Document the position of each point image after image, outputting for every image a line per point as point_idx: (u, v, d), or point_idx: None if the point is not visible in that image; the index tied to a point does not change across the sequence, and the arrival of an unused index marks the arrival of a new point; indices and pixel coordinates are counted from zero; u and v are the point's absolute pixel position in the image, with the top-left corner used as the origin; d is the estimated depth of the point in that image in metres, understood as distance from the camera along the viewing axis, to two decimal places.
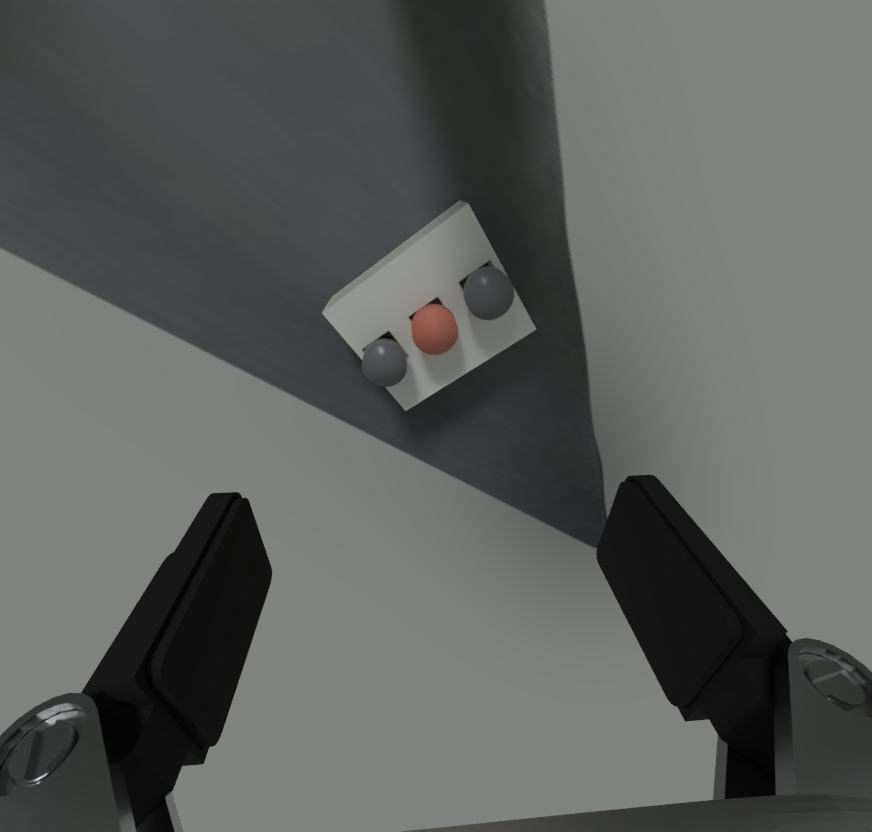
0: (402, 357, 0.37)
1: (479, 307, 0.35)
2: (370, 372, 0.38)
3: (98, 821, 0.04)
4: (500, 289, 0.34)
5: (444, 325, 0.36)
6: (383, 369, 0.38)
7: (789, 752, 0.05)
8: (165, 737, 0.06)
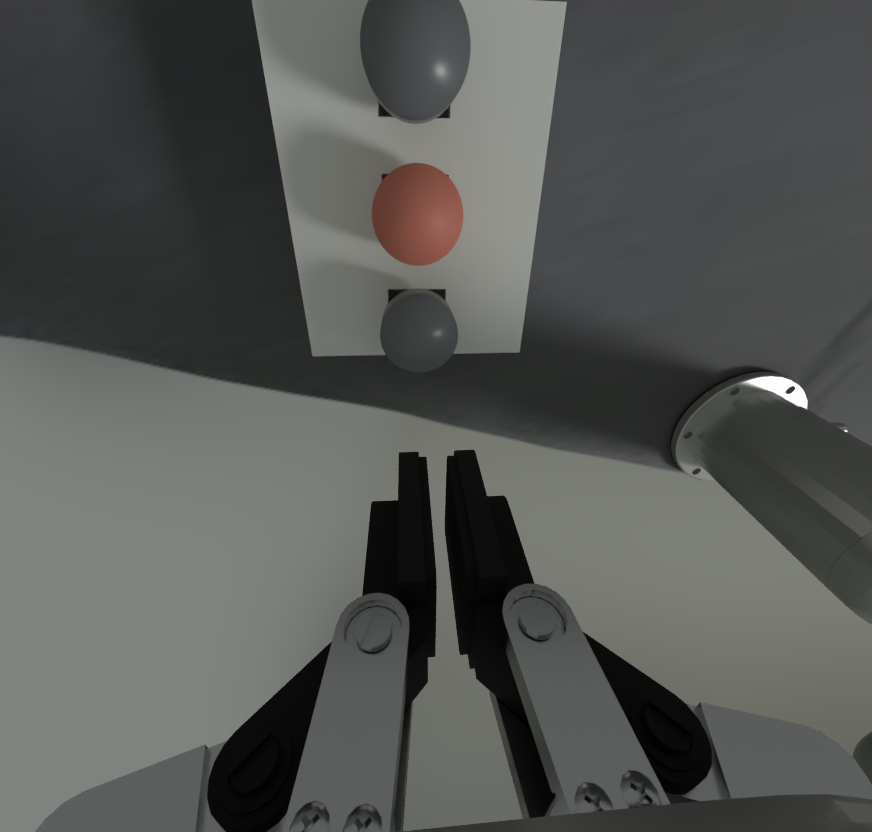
0: (412, 113, 0.16)
1: (412, 313, 0.21)
2: None
3: (386, 730, 0.05)
4: (419, 354, 0.22)
5: (420, 243, 0.19)
6: (412, 40, 0.15)
7: (538, 728, 0.05)
8: None
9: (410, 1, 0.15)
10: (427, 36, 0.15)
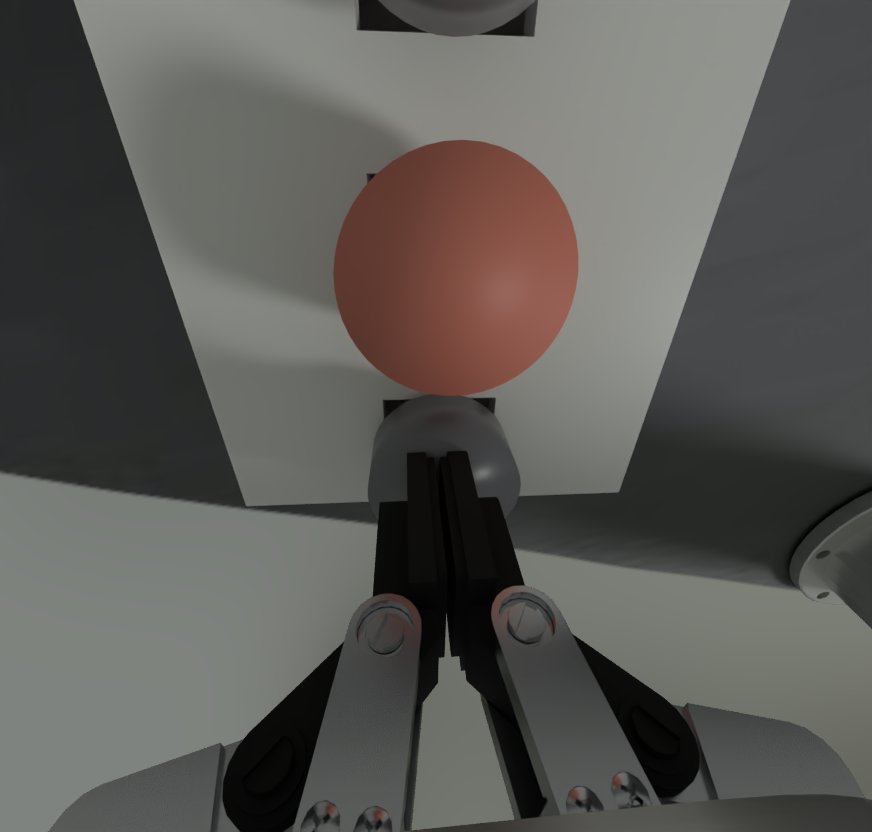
0: None
1: None
2: None
3: (397, 732, 0.05)
4: None
5: (461, 348, 0.08)
6: None
7: (529, 732, 0.05)
8: None
9: None
10: None
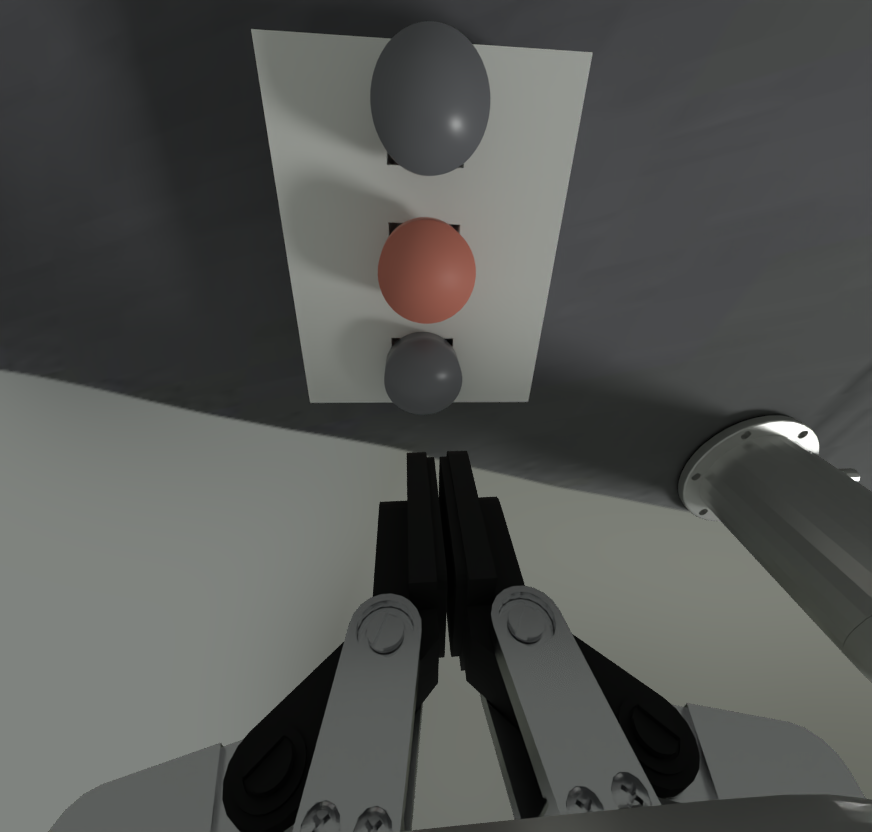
0: (424, 170, 0.15)
1: (417, 359, 0.21)
2: (442, 51, 0.13)
3: (397, 732, 0.05)
4: (423, 398, 0.22)
5: (429, 301, 0.18)
6: (427, 96, 0.14)
7: (529, 732, 0.05)
8: None
9: (426, 56, 0.13)
10: (443, 92, 0.14)
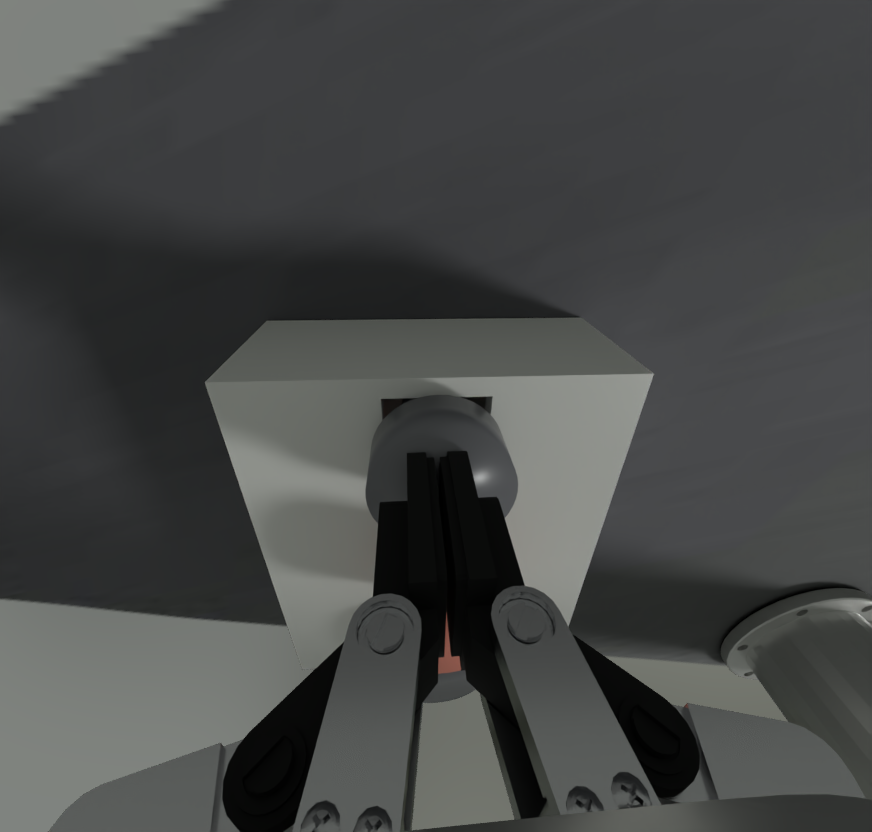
0: None
1: None
2: None
3: (397, 732, 0.05)
4: (436, 691, 0.18)
5: (444, 658, 0.14)
6: None
7: (529, 732, 0.05)
8: None
9: (436, 459, 0.10)
10: None
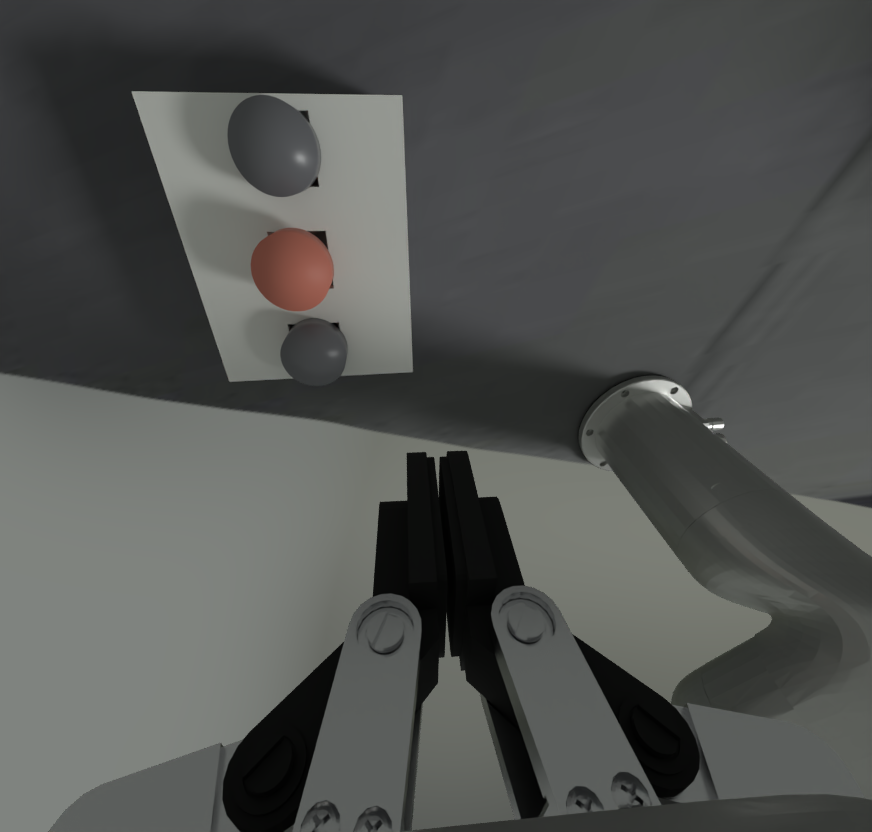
0: (277, 193, 0.21)
1: (304, 340, 0.26)
2: (273, 114, 0.19)
3: (397, 732, 0.05)
4: (316, 372, 0.27)
5: (297, 293, 0.23)
6: (269, 143, 0.20)
7: (529, 732, 0.05)
8: None
9: (262, 117, 0.19)
10: (280, 140, 0.20)
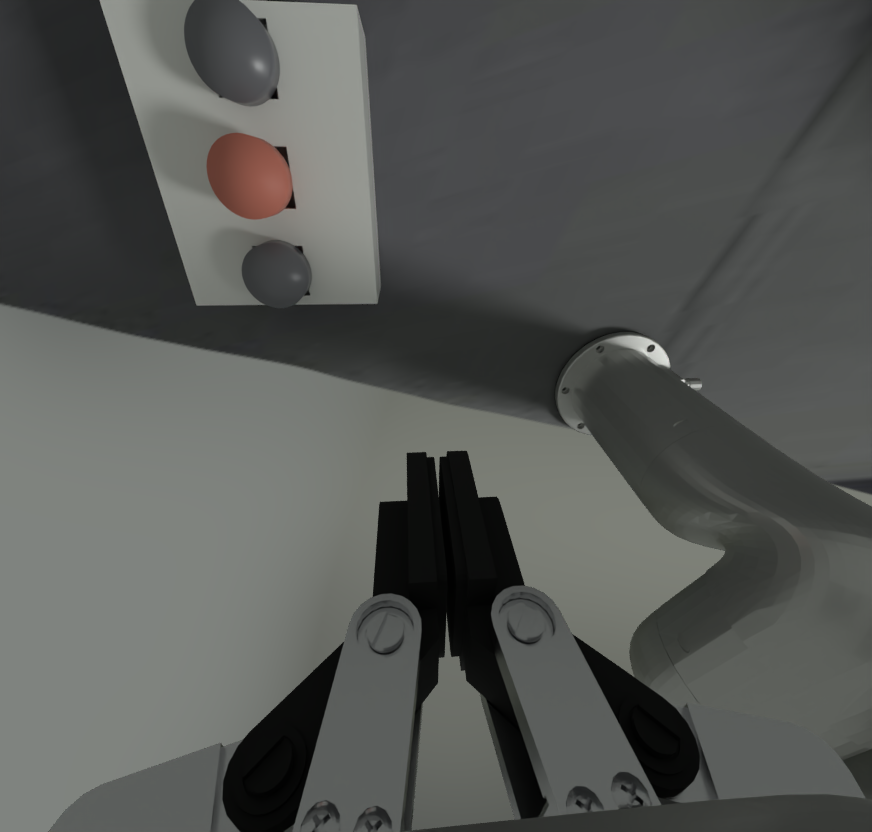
0: (234, 97, 0.22)
1: (265, 257, 0.27)
2: (227, 12, 0.20)
3: (397, 732, 0.05)
4: (277, 292, 0.28)
5: (252, 200, 0.23)
6: (224, 43, 0.21)
7: (529, 732, 0.05)
8: None
9: (217, 15, 0.20)
10: (234, 40, 0.21)
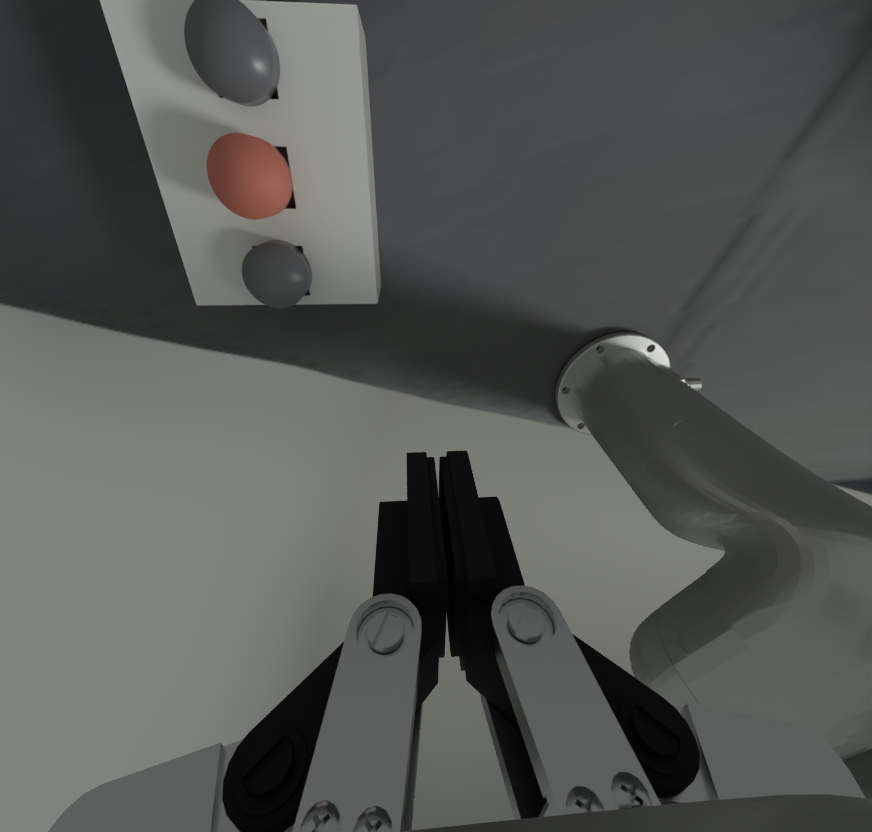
0: (234, 97, 0.22)
1: (265, 257, 0.27)
2: (227, 12, 0.20)
3: (397, 732, 0.05)
4: (277, 292, 0.28)
5: (252, 200, 0.23)
6: (224, 43, 0.21)
7: (529, 732, 0.05)
8: None
9: (217, 15, 0.20)
10: (235, 40, 0.21)
